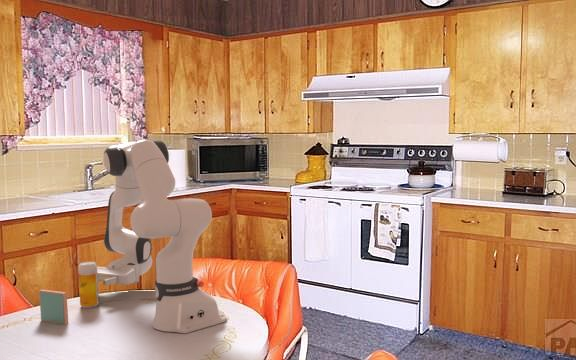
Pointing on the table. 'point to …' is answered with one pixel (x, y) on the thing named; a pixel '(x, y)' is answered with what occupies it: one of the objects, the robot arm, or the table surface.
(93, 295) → the beer can
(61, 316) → the tile
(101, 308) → the table surface
